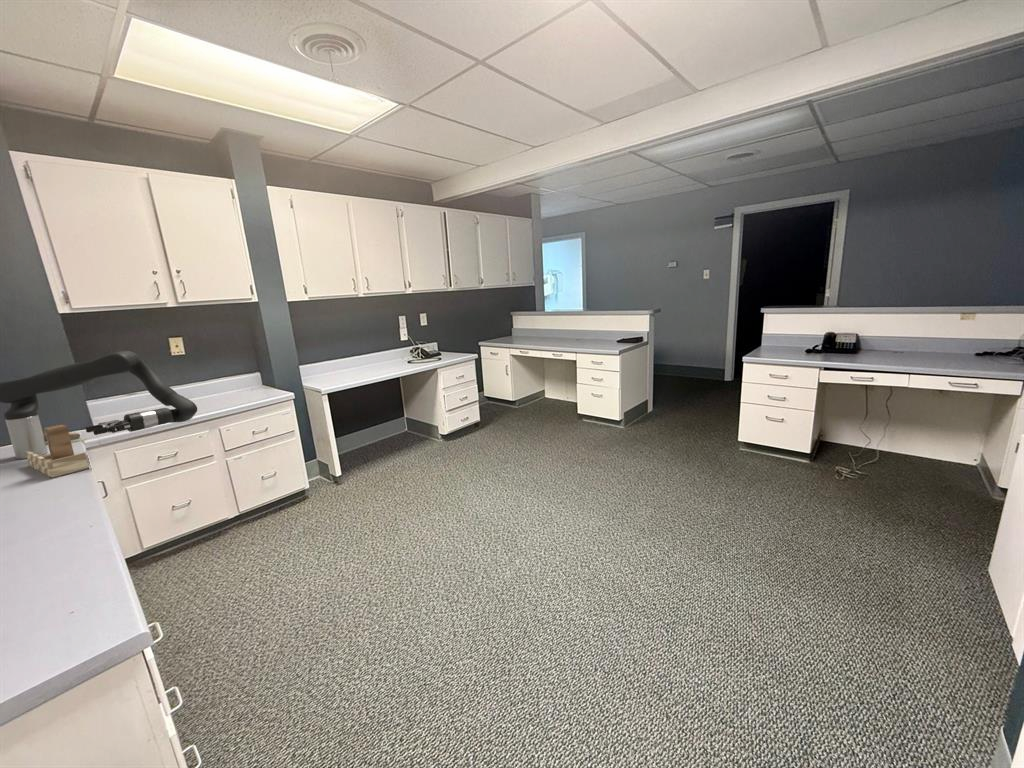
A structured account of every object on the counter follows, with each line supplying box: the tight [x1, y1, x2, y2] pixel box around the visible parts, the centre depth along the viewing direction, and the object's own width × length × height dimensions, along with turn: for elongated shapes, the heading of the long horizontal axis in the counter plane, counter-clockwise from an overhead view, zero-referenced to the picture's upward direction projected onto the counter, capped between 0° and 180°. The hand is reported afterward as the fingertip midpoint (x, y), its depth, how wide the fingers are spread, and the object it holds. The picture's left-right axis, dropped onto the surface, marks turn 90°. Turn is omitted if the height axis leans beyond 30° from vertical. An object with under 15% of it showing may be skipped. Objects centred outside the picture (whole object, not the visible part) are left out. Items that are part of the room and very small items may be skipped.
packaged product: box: [43, 431, 87, 445], centre depth 200 cm, size 18×5×10 cm
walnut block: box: [43, 424, 75, 460], centre depth 157 cm, size 5×5×14 cm
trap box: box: [26, 451, 90, 479], centre depth 163 cm, size 28×10×6 cm, turn 60°
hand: (89, 431), depth 164 cm, fingers open, 8 cm apart
